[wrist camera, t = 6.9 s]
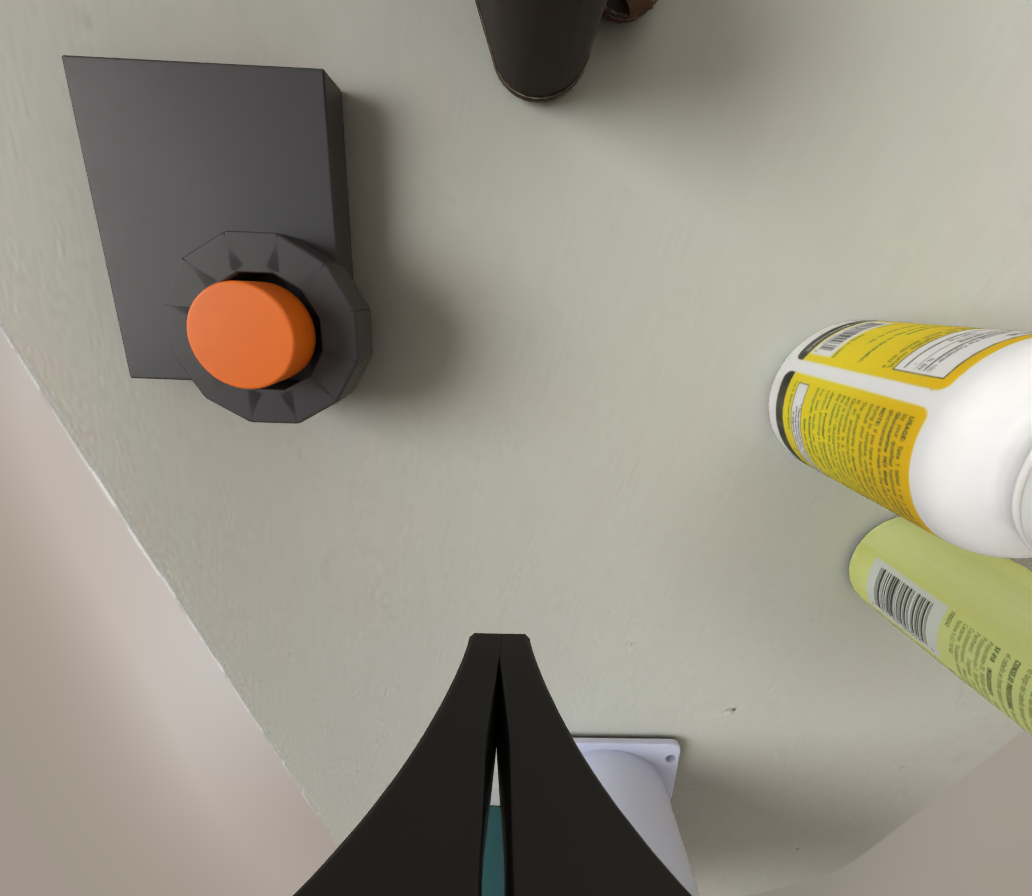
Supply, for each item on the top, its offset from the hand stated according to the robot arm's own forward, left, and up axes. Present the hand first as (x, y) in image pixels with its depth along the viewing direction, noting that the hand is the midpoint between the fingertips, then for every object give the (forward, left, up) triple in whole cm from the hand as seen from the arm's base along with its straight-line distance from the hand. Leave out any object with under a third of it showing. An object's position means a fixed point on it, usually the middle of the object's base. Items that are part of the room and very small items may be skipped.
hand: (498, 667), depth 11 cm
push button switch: (+10, +10, -10) cm, 18 cm away
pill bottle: (+5, -14, -11) cm, 18 cm away
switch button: (+7, +8, -7) cm, 13 cm away
